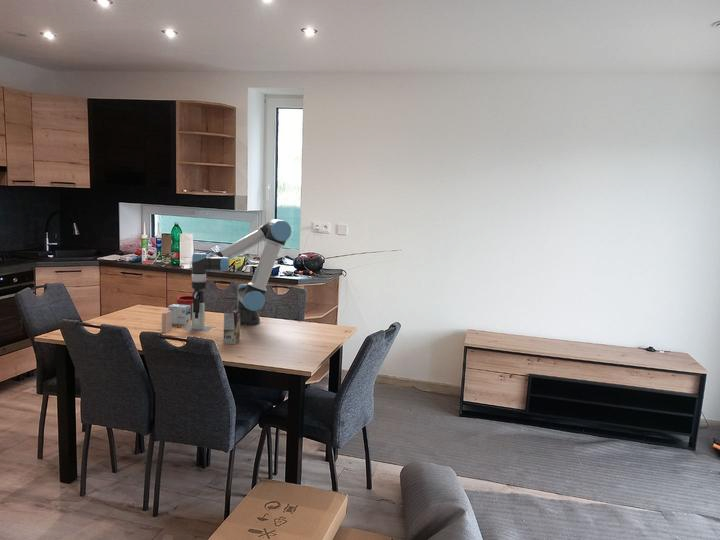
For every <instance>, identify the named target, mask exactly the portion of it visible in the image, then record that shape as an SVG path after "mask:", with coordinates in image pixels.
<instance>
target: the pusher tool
mask: <svg viewBox="0 0 720 540" xmlns="http://www.w3.org/2000/svg"><path fill="white" fill-rule="evenodd" d="M205 304H206V303H205V302H204V303H200V307H199V312H200V324H194V312H193V304H192V318H191V325H192V329H204V326H205V320H206V319H205V313H206V312H205V311H206V309H205V308H206V305H205Z"/></svg>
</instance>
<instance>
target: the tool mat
mask: <svg viewBox="0 0 720 540" xmlns="http://www.w3.org/2000/svg"><path fill="white" fill-rule="evenodd" d="M213 328H214V326H207V325H204V329H192V324H191V325H190V324H189V325H187V326H186V327H184V328H183V329H182V331H187V332H192V331H193V332H205V333H207V332H209V331H210V330H212V329H213Z"/></svg>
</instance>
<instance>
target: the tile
mask: <svg viewBox="0 0 720 540" xmlns="http://www.w3.org/2000/svg"><path fill="white" fill-rule="evenodd" d="M172 326H173V324H172V310H168V309H167V310H166V311H164V312H162V313H161V333H163V334H166V333H168V332H170V331H171V330H172V329H173V328H172Z"/></svg>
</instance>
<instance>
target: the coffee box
mask: <svg viewBox="0 0 720 540" xmlns="http://www.w3.org/2000/svg"><path fill="white" fill-rule="evenodd" d="M240 314H241V310H237V309H227V310H226V311H225V312H223V339H222V340H223V344H227V345H236V344H237V343H239V341H240V337H241V335H240V334H241V324H240Z"/></svg>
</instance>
